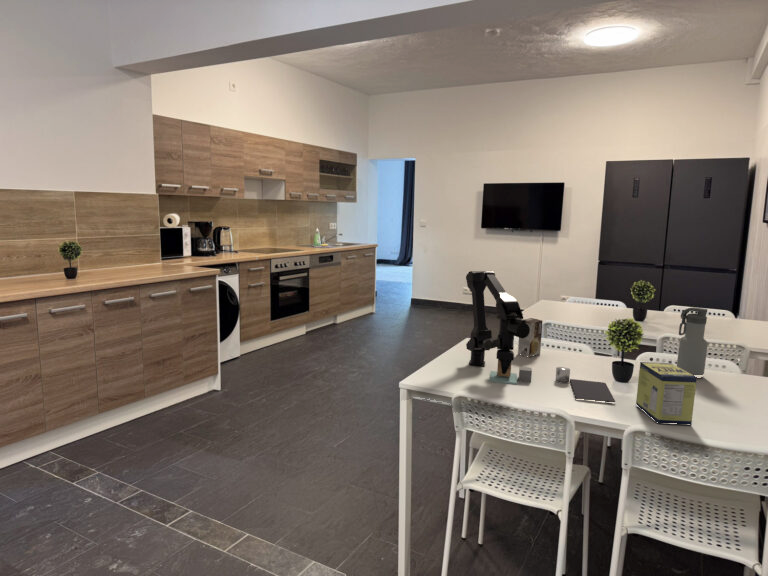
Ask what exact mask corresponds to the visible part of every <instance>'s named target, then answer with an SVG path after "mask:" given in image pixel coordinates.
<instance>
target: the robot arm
mask: <svg viewBox="0 0 768 576" xmlns="http://www.w3.org/2000/svg"><path fill="white" fill-rule="evenodd" d="M465 280H466V285H467V288H468V290H469V291H470V292H471V300H472V314H473V315H472V316H473V328H472V330H471V332H470V339H468V341H467V342H466V345H465V347H466V350H468V351H470V359H469V362H468V365H469V366H478V367H485V366H486V361H485V356H486V353H485V352H486V351H490V350H492V349H497V351H496V359H497V360H498V359H499V360H500V361H501V367H502V374H505V373H506V372H507V370H508V368H509V366H510V364H511V365H512V362H513V361H514V360H515V353H514V342H515V337H516V338H518V339H519V338H522V339H523V338H526V337H527V336H528V335H529V333H530V329H529V326H528V324H526V320H524V316H523V315H524V313H523V312H522V310H521V307H520V304H519V302H518V301H517V299H516V298H515V297H514V296H512V295H510V294H509V293H507V291H506V290H505V288H504V287H503V286H502V284H501V283H500V281H499V280H498V278H497V277H496V273H495V272H494V271H492V270H490V271H489V270H488V271H487V270H485V271H484V270H478V271H477V270H476V271H475V270H470V271H469V272H468V273H467V274H466V276H465ZM486 288H487V289H488V291H489V292H490V293H491V295H492V297H493V298H494V300H495V308H496V310H497V312H498V314H499V315H497V316H496V319H498V320H499V323H498V324H499V325H498V326H499V327H498V328H499V329H498V333H497V336H496V337H492V336H493V335H492V333H493V332H492V330H491V329H489V328H488V326H487V319H486V309H485V308H486V307H485V304H486V303H485V290H486Z"/></svg>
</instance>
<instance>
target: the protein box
mask: <svg viewBox="0 0 768 576" xmlns="http://www.w3.org/2000/svg"><path fill="white" fill-rule="evenodd" d="M639 362H640V364H639V371H638V379H637V381H638V383H637V390H636V391H637V393H636V400H635V401H636V402H635V405H636V404H637V405H638V406H639V407H640V408H641V409H643V410H644V411H645V412H646V413H647V414H648V415H649V416H650V417H652V418H653V419H654V420H655V421H656V422H658V423H677V424H691V425H692V423H693V413H694V405H695V397H696V389H697V387H696V386H697V381H698V379H697V377H695V376H694V375H692V374H690V373H688V372H686V371H684V370H682V369H680V368H679V367H677V365H675V364H673V363H672V362H671V363H670V362H669V363H668V362H650V361H649V362H648V361H647V362H646V361H639ZM650 417H649V418H650ZM656 422H655V423H656Z"/></svg>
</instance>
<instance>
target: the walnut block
mask: <svg viewBox="0 0 768 576" xmlns="http://www.w3.org/2000/svg"><path fill="white" fill-rule="evenodd" d="M496 369H497V370H496V371H497V376H506V377H510V376H511V373H512V363H511V364H510V366H509V368H508V370H507V372H506V373H505V374H502V367H501V361H500V360H499V359H497V368H496Z"/></svg>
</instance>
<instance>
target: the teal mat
mask: <svg viewBox="0 0 768 576" xmlns="http://www.w3.org/2000/svg"><path fill="white" fill-rule="evenodd" d="M517 375H518V373H513V372H511V376H510V377H506V376H497V370H490V375H489V376H490V377H489V383H490V382H491V383H500V384H509V385H518V376H517Z"/></svg>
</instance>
